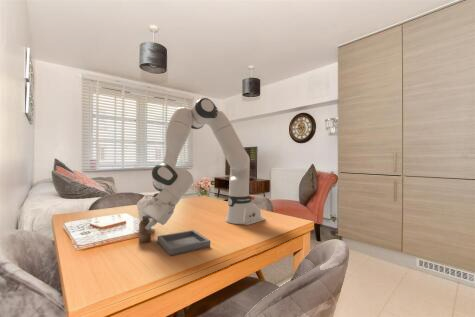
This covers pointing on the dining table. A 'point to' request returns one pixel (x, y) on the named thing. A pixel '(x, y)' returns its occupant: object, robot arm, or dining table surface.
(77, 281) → the dining table surface
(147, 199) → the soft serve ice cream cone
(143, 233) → the brown bottle
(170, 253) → the tray
